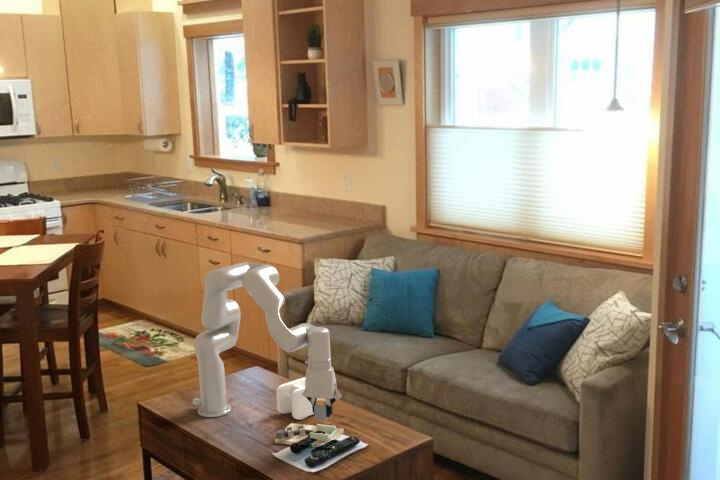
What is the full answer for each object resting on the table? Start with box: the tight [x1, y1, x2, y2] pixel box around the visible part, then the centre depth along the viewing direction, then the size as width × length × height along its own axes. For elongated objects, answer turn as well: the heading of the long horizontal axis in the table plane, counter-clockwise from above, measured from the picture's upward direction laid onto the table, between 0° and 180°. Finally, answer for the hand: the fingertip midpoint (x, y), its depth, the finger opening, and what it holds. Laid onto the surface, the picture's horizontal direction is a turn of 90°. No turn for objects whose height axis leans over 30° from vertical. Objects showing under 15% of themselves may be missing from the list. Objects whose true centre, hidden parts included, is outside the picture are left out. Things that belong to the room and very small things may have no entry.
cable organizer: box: [275, 376, 324, 421], centre depth 292 cm, size 15×11×12 cm
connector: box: [314, 399, 330, 421], centre depth 268 cm, size 4×4×6 cm
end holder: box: [310, 423, 337, 441], centre depth 270 cm, size 7×8×2 cm
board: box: [274, 422, 344, 446], centre depth 271 cm, size 20×14×4 cm
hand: (322, 414), depth 268 cm, fingers closed on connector, 4 cm apart
